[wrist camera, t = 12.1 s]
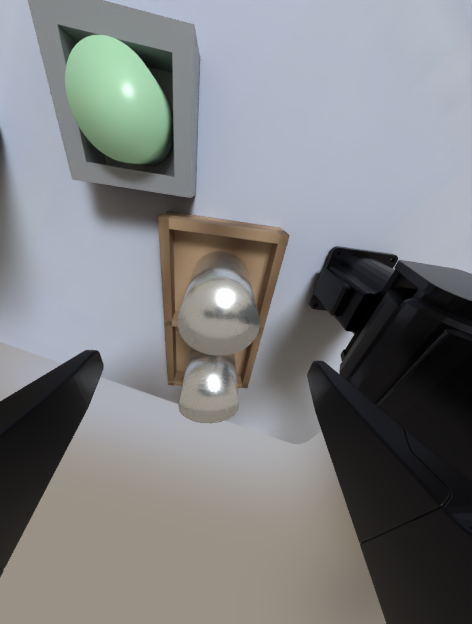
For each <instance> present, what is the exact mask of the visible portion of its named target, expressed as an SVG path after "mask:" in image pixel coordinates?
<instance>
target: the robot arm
mask: <svg viewBox="0 0 472 624" xmlns="http://www.w3.org/2000/svg"><path fill="white" fill-rule="evenodd" d="M336 251H338V253H337V254H336V255H335V252H336ZM391 259H392V260H391ZM390 260H391V261H390ZM397 260H398V257H397V256H396V255H393V254H388V253H381V252H374V251H367V250H360V249H353V248H346V247H339V246H337V247H334V248H333V249H332V250H331V252H330V254H329V257H328V259H327V262H326V264H325V267H324V268H323V269H322V271H321V273H320V276H319V278H318V281H317V283H316V286H315V289H314V291H313V293H314V294H313V297H312V299H311V302H310V306H311V308H312V309H317V310H327V311H328V312H329V313H330V314H331V315H332V316H334V317H335V318H336V319H337V320H338V321H339V323H340V324H341V325H342V326H343V328H344V329H345V330H346V331H350V332H353V334H354V336H353V338H352V339H351V341H350V343H349V344H348V346H347V347H346V349H344V350H343V351H342V353H341V359H342V363H341V364H340V372H339V373H340V374H338V373H337V372H336V371H335V370H334V369H332V368H331V367H330V366H329V365H327V364H326V363H325V362H324V361H314V362H313V363H312V365H311V367H310V369H309V371H308V375H307V377H308V382H309V386H310V391H311V395H312V400H313V404H314V408H315V412H316V415H317V418H318V421H319V424H320V427H321V430H322V433H323V436H324V439H325V442H326V445H327V448H328V451H329V453H330V457H331V460H332V463H333V465H334V468H335V472H336V475H337V477H338V480H339V483H340V486H341V489H342V492H343V495H344V498H345V501H346V504H347V507H348V510H349V513H350V516H351V519H352V522H353V525H354V528H355V531H356V534H357V537H358V540H359V542H360V546H361V549H362V552H363V555H364V558H365V561H366V564H367V567H368V570H369V573H370V576H371V579H372V582H373V585H374V588H375V591H376V594H377V597H378V600H379V603H380V606H381V609H382V612H383V615H384V618H385V621H386V624H472V274H471V273H468V272H465V271H462V270H458V269H453V268H447V267H441V266H434V265H428V264H422V263H416V262H410V261H403V260H399V261H398V262H397ZM389 261H390V262H389ZM396 262H397V264H396ZM395 264H396V266H395ZM394 266H395V267H394ZM393 267H394V268H395V270H394V269H393ZM315 303H317V304H316V305H314V304H315ZM102 371H103V362H102V359H101V356H100V353H99V351H97V350H85V351H83V352H82V353H80V354H78V355H77V356H75V357H73V358H72V359H70V360H68V361H67V362H65V363H63V364H62V365H60V366H58V367H57V368H55V369H54V370H52V371H50V372H49V373H47V374H45V375H43V376H42V377H40V378H38V379H37V380H35V381H33V382H32V383H30V384H28V385H27V386H25V387H23V388H22V389H20V390H18V391H17V392H15V393H14V394H12V395H10V396H8V397H7V398H5V399H3V400H2V401H0V577H1V575H2V573H3V569H4V568H5V567H6V565H7V563H8V561H9V559H10V557H11V555H12V553H13V551H14V549H15V547H16V545H17V544H18V542H19V540H20V538H21V536H22V534H23V532H24V530H25V528H26V526H27V524H28V522H29V521H30V519H31V517H32V515H33V513H34V511H35V509H36V507H37V505H38V503H39V501H40V499H41V497H42V496H43V494H44V492H45V490H46V488H47V486H48V484H49V482H50V480H51V478H52V476H53V474H54V472H55V471H56V468H57V467H58V465H59V463H60V461H61V459H62V457H63V455H64V453H65V451H66V449H67V447H68V446H69V443H70V442H71V440H72V438H73V436H74V434H75V432H76V430H77V428H78V426H79V424H80V422H81V420H82V419H83V417H84V415H85V413H86V410H87V409H88V407H89V404H90V402H91V399H92V397H93V394H94V392H95V389H96V387H97V384H98V381H99V379H100V376H101V374H102Z"/></svg>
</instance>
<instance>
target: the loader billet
mask: <svg viewBox="0 0 472 624" xmlns="http://www.w3.org/2000/svg"><path fill="white" fill-rule="evenodd" d="M238 406H239V405H238V391H237V378H236V364H235V353H234V354H230V355H222V356H216V355H209V354H205V353H201V352H199V351H197V350H195V349H193V348H192V347H190V348H189V354H188V359H187V364H186V369H185V375H184V380H183V385H182V391H181V396H180V401H179V410H180V412H181V413H182V414H183V416H185V417H186V418H188V419H190V420H192V421H195V422H200V423H216V422H221V421H224V420H227V419H229V418H230V417H232V416H233V415H234V414H235V413H236V412H237V410H238Z"/></svg>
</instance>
